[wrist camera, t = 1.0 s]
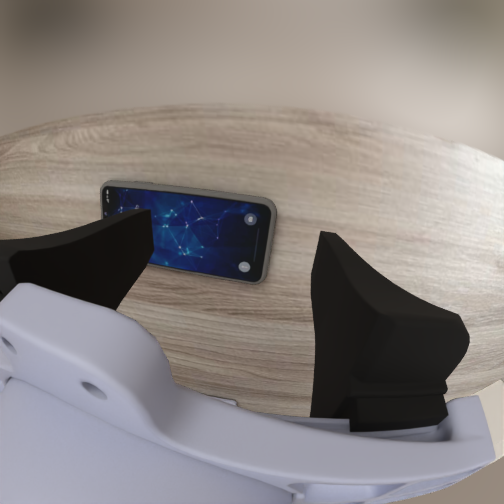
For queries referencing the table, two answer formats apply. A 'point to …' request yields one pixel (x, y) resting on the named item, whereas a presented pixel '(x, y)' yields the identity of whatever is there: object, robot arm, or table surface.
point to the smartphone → (200, 228)
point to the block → (494, 414)
